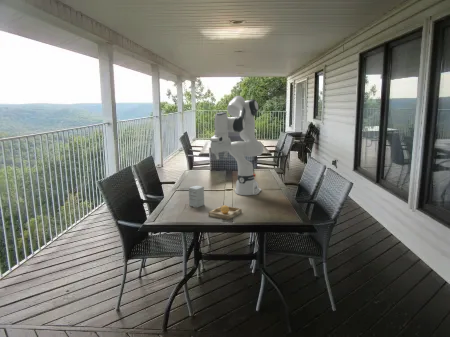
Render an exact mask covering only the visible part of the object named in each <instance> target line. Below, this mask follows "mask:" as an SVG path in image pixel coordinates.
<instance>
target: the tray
mask: <svg viewBox="0 0 450 337" xmlns="http://www.w3.org/2000/svg"><path fill="white" fill-rule="evenodd" d="M222 206H224V204H223V205H220V206H218V207H215V208H214V209H213V210H212V209H211V210H210V211H208V214H207V215H208V217H212V218H217V219H222V220H227V221H229V220H231V219H233V218H234V217H237V216H238V215H239V214H242V211H243V210H242V209H243V208H240V207H234V206H230V205H229V206H228V205H227V206H228V207H229V212H228V213H226V214H224V213H222V211H221V207H222Z"/></svg>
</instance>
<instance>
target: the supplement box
mask: <svg viewBox="0 0 450 337" xmlns="http://www.w3.org/2000/svg"><path fill="white" fill-rule="evenodd" d="M188 202H189V204H188V205H189V207H192V206H193V207H194V208H200V207H203V206H205V187H204V186H201V185H193V186H190V187H188Z"/></svg>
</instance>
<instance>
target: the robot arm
mask: <svg viewBox="0 0 450 337" xmlns="http://www.w3.org/2000/svg"><path fill="white" fill-rule="evenodd" d="M226 108H227V109H226V110H227V112H225V111H218V112H216V113H215V114H214V134H213V136H211V137H210V138H209V141H210V153H211V154H214V156H215V160H217V161H218V160H220V156H219V155H220V154H219V153H223V152H224V154H223V158H224V159H225V158H228V154H229V155H230V156H232V157H233V158H234V159H235V161H236V163H237V175H236V178H237V180H236V181H235V182H236V184H235V189H234V193H235V194H237V195H240V196H256V195H258V194H259V193H260V192H261V191H262V188H260V187H259V182H257V180H255V177H256V173H254V163H252V162H251V161H250V160H248V159H246V157H259V156H261V155H262V154H264V153H263V152H264V145H263V144H262V143H261V141H258V139H257V138H256V135H255V134H256V132H255V129H256V121H255V116H256V115H257V113H258V111H259V104H258V101H257V100H256V99H252V98H251V99H247V100H245V98H244V96H242V95H235V96H233V98H232V99H231V100H230V101H229V102H228V104H227V107H226ZM228 115H230V116H228ZM229 132H235V133H236V132H237V133H239V137H240V138H241V140H238V141H236V140H235V141H232V140H231V137H230V136H229Z"/></svg>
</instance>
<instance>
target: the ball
mask: <svg viewBox="0 0 450 337" xmlns="http://www.w3.org/2000/svg"><path fill="white" fill-rule="evenodd" d="M223 205H224V204H223ZM221 206H222V205H221ZM229 207H230V206H229ZM229 207H228V205H227V204H226V205H224V206H222V207H221V211H222V213H224V214H226V213H228V212H229Z"/></svg>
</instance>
